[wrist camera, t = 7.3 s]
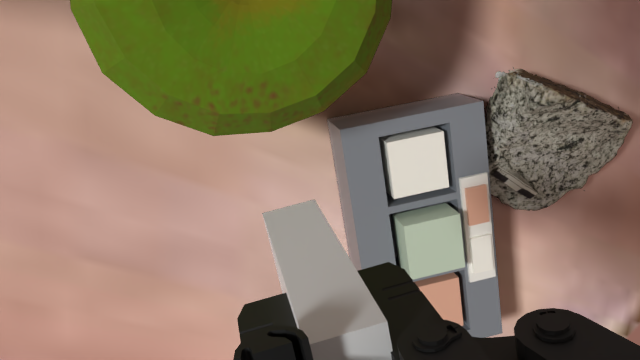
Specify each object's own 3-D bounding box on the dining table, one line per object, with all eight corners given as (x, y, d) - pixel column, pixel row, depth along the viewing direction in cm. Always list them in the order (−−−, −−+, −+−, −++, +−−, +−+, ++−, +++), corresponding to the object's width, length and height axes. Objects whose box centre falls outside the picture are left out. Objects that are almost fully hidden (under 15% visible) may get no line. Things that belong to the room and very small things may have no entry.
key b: (392, 214, 34) (403, 226, 32) (445, 202, 34) (460, 213, 32) (399, 265, 34) (410, 280, 33) (451, 253, 35) (465, 267, 33)
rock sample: (452, 234, 33) (595, 165, 27) (416, 116, 36) (537, 31, 30) (551, 239, 40) (683, 184, 34) (513, 138, 43) (629, 72, 37)
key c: (395, 275, 36) (406, 289, 34) (445, 263, 36) (458, 277, 34) (402, 321, 37) (412, 338, 35) (450, 309, 37) (463, 325, 35)
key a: (376, 135, 33) (386, 142, 31) (430, 124, 34) (443, 131, 32) (383, 189, 34) (394, 198, 32) (435, 177, 35) (449, 187, 33)
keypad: (327, 119, 34) (341, 131, 30) (457, 93, 35) (486, 101, 31) (362, 336, 38) (378, 369, 35) (478, 307, 39) (505, 336, 36)
